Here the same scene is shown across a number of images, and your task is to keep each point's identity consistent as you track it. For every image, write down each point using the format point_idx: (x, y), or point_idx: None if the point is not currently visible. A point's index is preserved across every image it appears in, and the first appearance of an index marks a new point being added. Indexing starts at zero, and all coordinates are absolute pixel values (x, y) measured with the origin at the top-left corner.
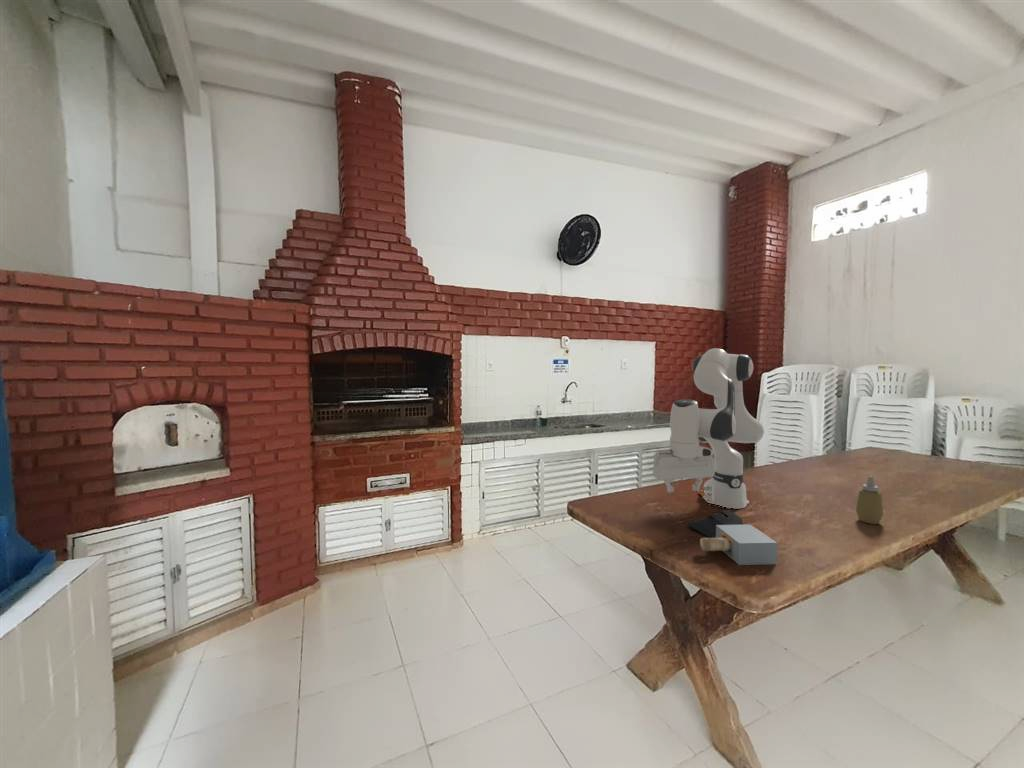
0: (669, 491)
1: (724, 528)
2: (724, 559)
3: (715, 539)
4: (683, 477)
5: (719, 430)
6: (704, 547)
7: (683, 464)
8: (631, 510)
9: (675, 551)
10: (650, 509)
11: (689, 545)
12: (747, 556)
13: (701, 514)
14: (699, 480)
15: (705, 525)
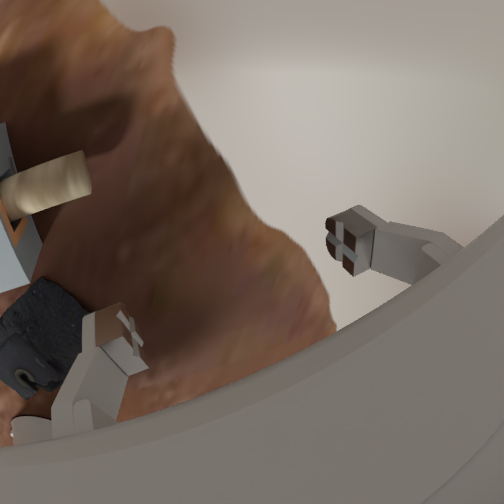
0: (363, 211)
1: (5, 260)
2: (33, 147)
3: (41, 185)
4: (362, 335)
5: None
6: (83, 159)
7: (480, 495)
8: (231, 367)
9: (171, 167)
10: (188, 383)
11: (117, 219)
12: None
13: None
14: (86, 404)
15: (65, 326)
